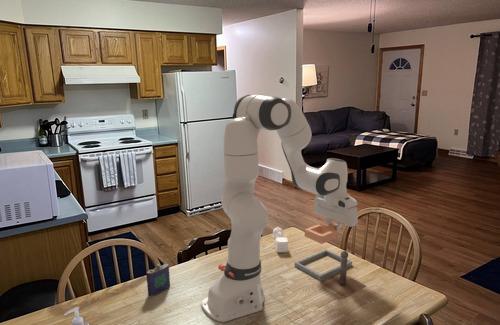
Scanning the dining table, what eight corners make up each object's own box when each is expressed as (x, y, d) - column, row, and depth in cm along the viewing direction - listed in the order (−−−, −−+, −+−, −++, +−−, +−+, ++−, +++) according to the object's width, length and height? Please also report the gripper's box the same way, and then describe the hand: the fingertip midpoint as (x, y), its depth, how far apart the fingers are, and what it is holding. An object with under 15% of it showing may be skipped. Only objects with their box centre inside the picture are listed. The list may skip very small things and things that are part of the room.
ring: (321, 243, 139) (321, 236, 139) (304, 236, 146) (304, 229, 146) (345, 234, 147) (345, 227, 147) (328, 227, 154) (328, 220, 154)
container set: (288, 253, 164) (288, 241, 163) (276, 253, 164) (276, 241, 162) (282, 234, 183) (282, 224, 182) (272, 234, 183) (272, 224, 182)
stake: (345, 300, 128) (347, 262, 125) (319, 285, 137) (320, 249, 134) (366, 288, 135) (368, 252, 132) (340, 275, 144) (342, 241, 141)
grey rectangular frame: (320, 283, 139) (320, 276, 138) (294, 268, 150) (294, 262, 149) (351, 267, 150) (352, 261, 149) (325, 255, 161) (325, 249, 160)
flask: (167, 284, 139) (166, 258, 137) (172, 287, 137) (170, 261, 135) (146, 294, 132) (144, 267, 130) (151, 297, 130) (149, 270, 128)
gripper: (310, 193, 153) (310, 224, 156) (350, 205, 137) (349, 240, 140) (321, 190, 157) (320, 220, 160) (361, 202, 141) (359, 235, 144)
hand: (334, 229), depth 150 cm, fingers closed on ring, 2 cm apart
